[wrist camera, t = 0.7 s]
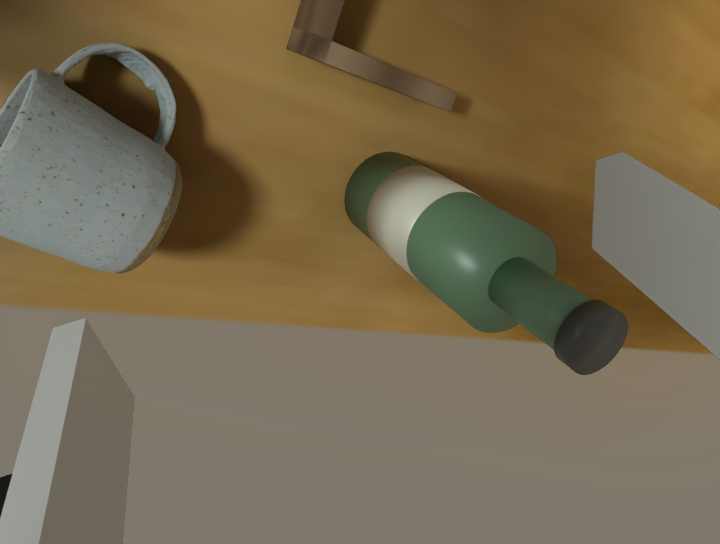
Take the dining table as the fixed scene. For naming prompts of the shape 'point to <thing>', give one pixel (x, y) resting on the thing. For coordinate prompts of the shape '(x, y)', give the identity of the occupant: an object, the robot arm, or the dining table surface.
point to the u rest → (356, 54)
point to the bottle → (479, 259)
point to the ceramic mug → (86, 169)
